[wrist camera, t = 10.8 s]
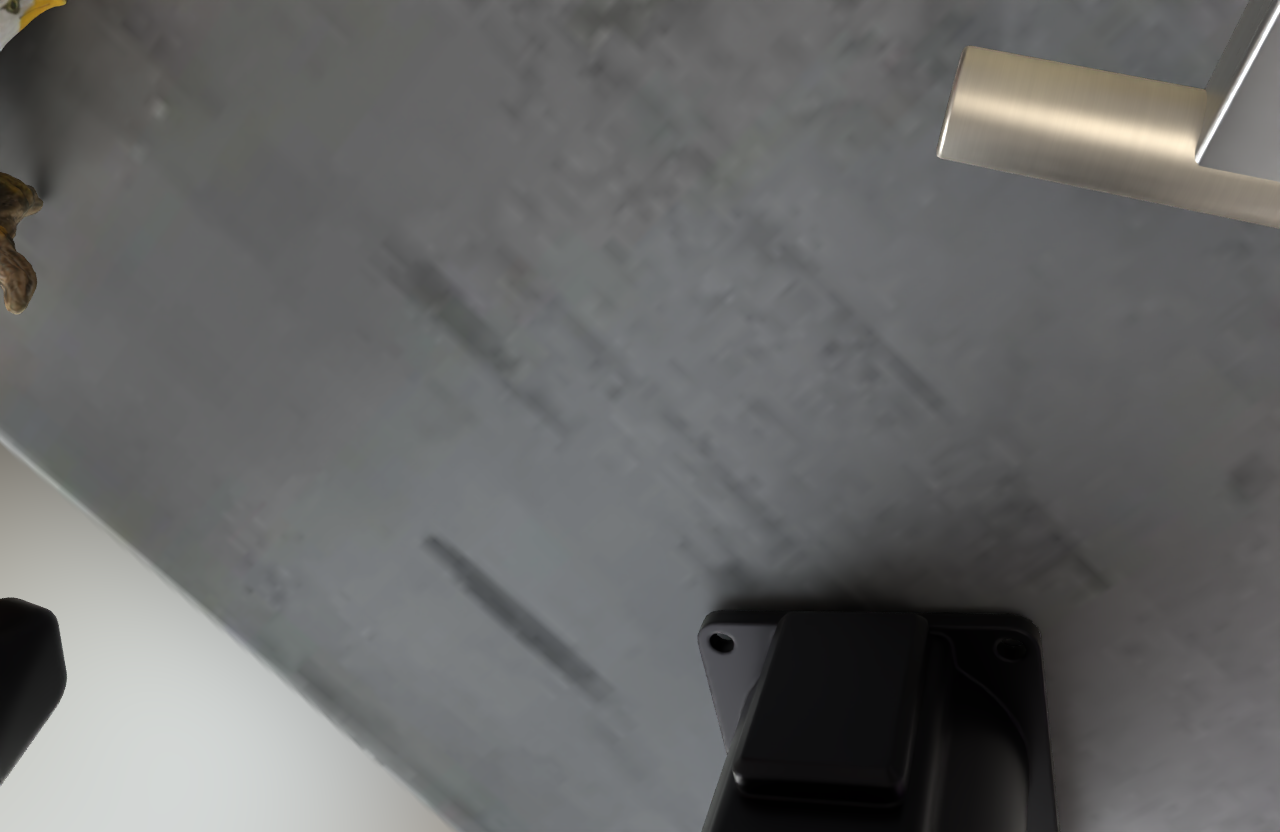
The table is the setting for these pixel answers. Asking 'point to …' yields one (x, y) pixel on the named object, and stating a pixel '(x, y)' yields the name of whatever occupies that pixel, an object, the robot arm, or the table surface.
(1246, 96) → the lever
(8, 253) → the eagle figurine
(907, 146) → the table surface
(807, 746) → the robot arm
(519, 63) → the table surface
